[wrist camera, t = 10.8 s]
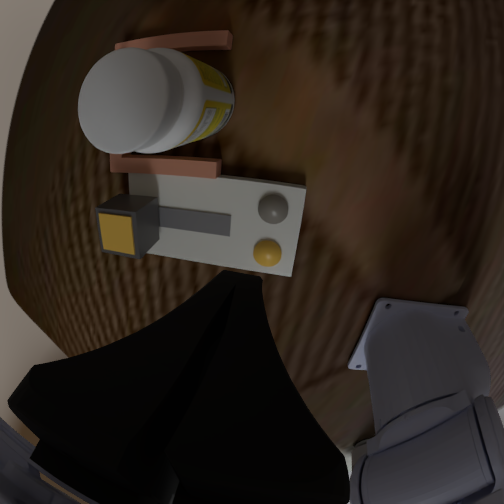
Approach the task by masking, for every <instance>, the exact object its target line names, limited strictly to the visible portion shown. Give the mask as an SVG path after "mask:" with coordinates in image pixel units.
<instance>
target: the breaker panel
mask: <svg viewBox="0 0 504 504" xmlns="http://www.w3.org/2000/svg"><path fill="white" fill-rule="evenodd" d="M128 174H129V195H141V196H152V197H158V220H159V238H160V239H159V240H158V241H157V242H156V243H155V244H154V245H153V246H152V248H151V249H150V250H149V251H148V252H147V253H150V254H156V255H162V256H167V257H173V258H179V259H185V260H190V261H196V262H202V263H208V264H214V265H220V266H226V267H232V268H238V269H245V270H251V271H257V272H263V273H270V274H276V275H283V276H289V277H291V274H292V269H293V263H294V258H295V253H296V247H297V242H298V236H299V230H300V225H301V219H302V213H303V207H304V201H305V195H306V186H304V185H297V184H291V183H284V182H277V181H270V180H262V179H254V178H246V177H237V176H228V175H220V176H219V177H217V178H216V179H210V178H200V177H188V176H175V175H161V174H144V173H128Z"/></svg>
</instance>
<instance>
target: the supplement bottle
mask: <svg viewBox="0 0 504 504" xmlns="http://www.w3.org/2000/svg"><path fill="white" fill-rule="evenodd" d="M234 101H235V99H234V92H233V88H232V85H231V84H230V82H229V80H228V79H227V77H226V76H225V75H224V74H223V73H221V72H220V71H219V70H217V69H215V68H213V67H211V66H209V65H207V64H205V63H203V62H201V61H199V60H197V59H195V58H193V57H190V56H188V55H186V54H184V53H181V52H179V51H177V50H174V49H169V48H151V49H147V50H145V49H141V48H135V47H128V48H121V49H118V50H115V51H113V52H111V53H109V54H107V55H105V56H104V57H103V58H101V59H100V60H99V61H98V62H97V63H96V64H95V65H94V66H93V67H92V68H91V70H90V71H89V73H88V74H87V76H86V78H85V80H84V82H83V84H82V87H81V90H80V95H79V100H78V115H79V121H80V125H81V127H82V130H83V132H84V134H85V135H86V137H87V138H88V140H89V141H90V142H91V143H92V144H93V145H94V146H95V147H97V148H98V149H100V150H102V151H104V152H107V153H112V154H124V153H129V152H133V151H136V152H140V153H158V152H163V151H167V150H170V149H172V148H175V147H178V146H181V145H184V144H187V143H191V142H194V141H197V140H200V139H203V138H207V137H209V136H211V135H213V134H215V133H217V132H218V131H219V130H221V129H222V128H223V127H224V126H225V125H226V123H227V122H228V120H229V119H230V117H231V115H232V112H233V109H234Z"/></svg>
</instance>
